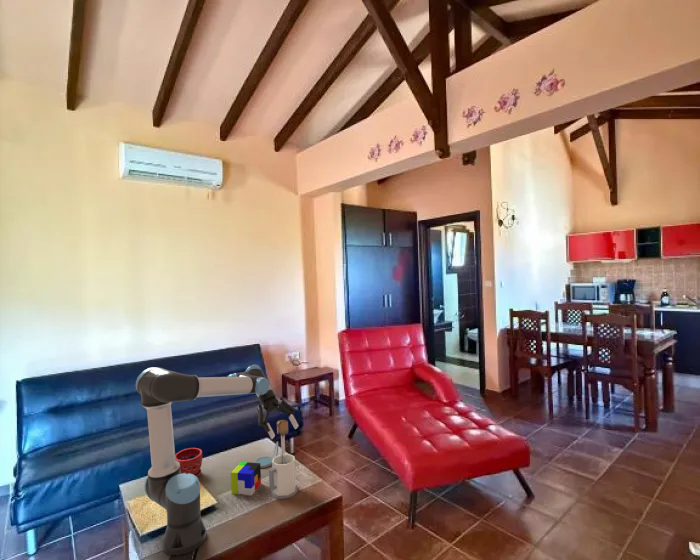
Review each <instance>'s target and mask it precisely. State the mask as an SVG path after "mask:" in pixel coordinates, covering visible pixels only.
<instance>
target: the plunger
mask: <svg viewBox="0 0 700 560" xmlns="http://www.w3.org/2000/svg"><path fill="white" fill-rule="evenodd" d="M276 431H277V432H276V435H280V442H281V443H280V445H281V454H282V463H281V464H288V463H285V454H286V443H285V442H286V440H285V439H286V437H285V435H287V434H289V420H288V419H280V420H277V422H276Z"/></svg>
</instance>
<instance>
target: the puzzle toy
mask: <svg viewBox="0 0 700 560" xmlns="http://www.w3.org/2000/svg"><path fill="white" fill-rule="evenodd" d="M261 469H262V468H261V466H260V463H255V462H251V461H250V462H249V461H241V462H240V463H238V465H237V466H235V468H234V469H233V470H232V471H231V472H230V482H231V483H230V487H231V488H230V489H231V494H232V493H233V494H232V495H239V494H244V495H243V496H250V495H252V494H253V495H254V493H255V492H256V491H257V490H258V488H259V487H260V486H261V484H262V471H261ZM256 489H257V490H256ZM253 495H252V496H253Z"/></svg>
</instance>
